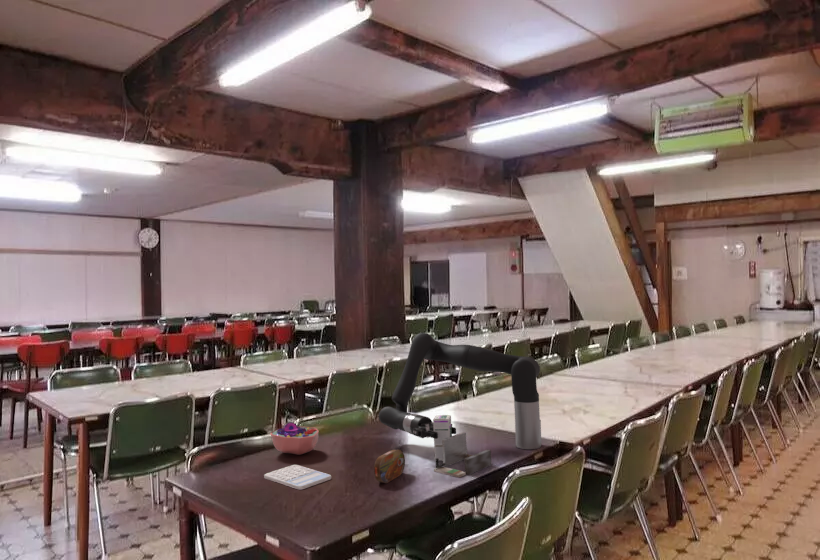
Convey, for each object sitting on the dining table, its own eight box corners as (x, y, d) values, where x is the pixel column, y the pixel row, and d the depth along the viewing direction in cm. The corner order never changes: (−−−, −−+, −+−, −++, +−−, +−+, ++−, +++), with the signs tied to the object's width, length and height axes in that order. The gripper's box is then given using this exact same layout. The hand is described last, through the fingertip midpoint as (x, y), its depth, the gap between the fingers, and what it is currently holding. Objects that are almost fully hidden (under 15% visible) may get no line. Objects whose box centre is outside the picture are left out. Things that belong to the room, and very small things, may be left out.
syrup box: (451, 460, 197) (449, 418, 197) (434, 460, 198) (432, 418, 198) (453, 455, 203) (451, 414, 203) (436, 455, 204) (435, 414, 204)
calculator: (295, 468, 200) (295, 463, 200) (333, 480, 186) (332, 474, 186) (262, 479, 190) (262, 473, 190) (300, 492, 177) (299, 485, 177)
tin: (381, 486, 177) (380, 459, 177) (372, 485, 179) (371, 458, 179) (406, 472, 190) (405, 446, 190) (398, 471, 192) (397, 445, 192)
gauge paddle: (464, 457, 202) (463, 432, 202) (466, 458, 201) (466, 432, 201) (435, 469, 190) (434, 442, 190) (437, 469, 189) (436, 442, 189)
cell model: (289, 464, 204) (288, 432, 204) (263, 453, 219) (262, 423, 219) (329, 453, 215) (328, 423, 215) (302, 444, 230) (301, 415, 230)
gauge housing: (466, 458, 203) (466, 444, 203) (493, 464, 195) (492, 449, 195) (433, 471, 190) (433, 456, 190) (461, 478, 182) (460, 462, 182)
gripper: (401, 418, 208) (430, 426, 195) (432, 411, 216) (461, 419, 203) (402, 439, 207) (431, 448, 195) (432, 431, 216) (461, 440, 203)
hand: (446, 433), depth 199 cm, fingers closed on syrup box, 8 cm apart
